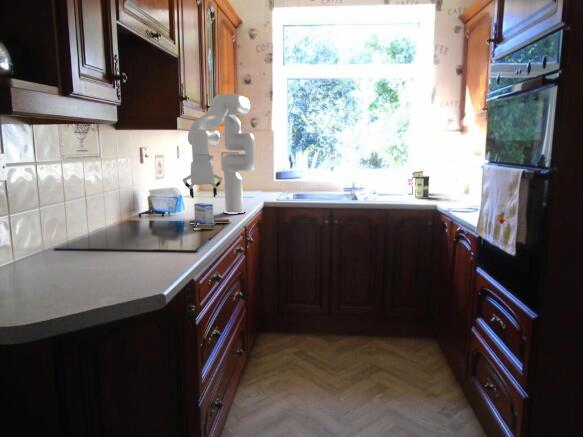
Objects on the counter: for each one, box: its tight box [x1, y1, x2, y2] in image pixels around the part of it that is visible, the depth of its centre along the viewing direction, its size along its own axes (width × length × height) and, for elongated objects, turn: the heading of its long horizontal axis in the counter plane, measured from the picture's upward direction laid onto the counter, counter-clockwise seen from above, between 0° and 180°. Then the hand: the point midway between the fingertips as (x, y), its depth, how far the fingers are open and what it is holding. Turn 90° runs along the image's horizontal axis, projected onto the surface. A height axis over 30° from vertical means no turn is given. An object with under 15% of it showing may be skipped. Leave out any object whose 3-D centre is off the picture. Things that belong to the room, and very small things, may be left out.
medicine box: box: [193, 202, 214, 224], centre depth 200 cm, size 8×4×9 cm, turn 52°
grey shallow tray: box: [192, 219, 216, 229], centre depth 201 cm, size 13×9×2 cm
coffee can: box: [412, 175, 430, 199], centre depth 296 cm, size 10×10×14 cm
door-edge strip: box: [189, 218, 230, 224], centre depth 209 cm, size 1×18×2 cm, turn 98°
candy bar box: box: [406, 169, 424, 195], centre depth 317 cm, size 11×5×16 cm, turn 126°
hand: (203, 197), depth 200 cm, fingers open, 9 cm apart
